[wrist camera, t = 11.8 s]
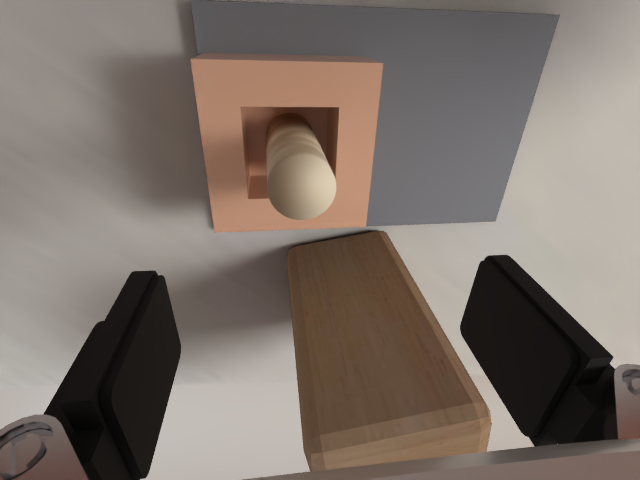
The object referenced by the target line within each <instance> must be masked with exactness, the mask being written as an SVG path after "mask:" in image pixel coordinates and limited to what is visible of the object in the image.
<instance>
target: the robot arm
mask: <svg viewBox="0 0 640 480" xmlns="http://www.w3.org/2000/svg"><path fill="white" fill-rule="evenodd" d="M460 330H461V334H462V336H463V338H464V340H465V341H466V343H467V345H468V346H469V348H470V350H471V351H472V353H473V354H474V356H475V358H476V359H477V361H478V363H479V364H480V366H481V367H482V369H483V371H484V372H485V374H486V376H487V377H488V379H489V380H490V382H491V384H492V385H493V387H494V388H495V390H496V392H497V393H498V395H499V397H500V398H501V400H502V402H503V403H504V405H505V406H506V408H507V410H508V411H509V413H510V414H511V416H512V418H513V419H514V421H515V422H516V424H517V426H518V427H519V429H520V431H521V432H522V433H523V434H524V435H525V436H527V437H529V438H530V440H531V441H532V443H533V444H534V446H535V447H528V448H518V449H508V450H499V451H490V452H480V453H471V454H462V455H452V456H444V457H435V458H426V459H417V460H408V461H399V462H390V463H381V464H372V465H363V466H354V467H346V468H337V469H328V470H320V471H311V472H303V473H294V474H286V475H277V476H269V477H260V478H253V479H244V480H640V365H634V364H624V365H620V366H618V367H617V368H616V369H614V368H613V367H612V366H611V365H610V364H609V363H610V362H611V360H612V359H613V356H612V355H611V354H610V353H609V352H608V351H607V350H606V349H605V348H604V347H603V346H602V345H601V344H600V343H599V342H598V341H597V340H596V339H595V338H593V337H592V336H591V335H590V334H589V333H588V332H587V331H586V330H585V329H584V328H583V327H582V326H581V325H580V324H579V323H578V322H577V321H576V320H575V319H574V318H573V317H572V316H571V315H570V314H569V313H568V312H567V311H566V310H565V309H564V308H563V307H562V306H561V305H559V304H558V303H557V302H556V301H555V300H554V299H553V298H552V297H551V296H550V295H549V294H548V293H547V292H546V291H545V290H544V289H543V288H542V287H541V286H540V285H539V284H538V283H537V282H536V281H535V280H534V279H533V278H532V277H531V276H530V275H529V274H528V273H526V272H525V271H524V270H523V269H522V268H521V267H520V266H519V265H518V264H517V263H516V262H515V261H514V260H513V259H512V258H511V257H510V256H508V255H493V256H487V257H486V258H485V260H484V261H481V262H480V264H479V267H478V270H477V273H476V277H475V280H474V283H473V286H472V289H471V293H470V296H469V299H468V302H467V305H466V309H465V312H464V315H463V318H462V321H461V325H460ZM180 354H181V344H180V340H179V335H178V331H177V327H176V323H175V319H174V315H173V310H172V306H171V302H170V298H169V294H168V290H167V285H166V281H165V278H164V276H162V275H160V276H158V274H157V272H156V271H134V272H132V273H131V274H130V276H129V278H128V279H127V281H126V283H125V285H124V287H123V288H122V290H121V292H120V294H119V296H118V297H117V299H116V301H115V303H114V305H113V306H112V308H111V310H110V312H109V314H108V315H107V317H106V319H105V321H100V322H99V323H97V324H96V325H95V327H94V328H93V330H92V331H91V333H90V335H89V337H88V338H87V340H86V342H85V343H84V345H83V347H82V349H81V350H80V352H79V354H78V356H77V357H76V359H75V361H74V362H73V364H72V366H71V368H70V369H69V371H68V373H67V375H66V376H65V378H64V380H63V381H62V383H61V385H60V387H59V388H58V390H57V392H56V394H55V395H54V397H53V399H52V400H51V402H50V404H49V406H48V407H47V409H46V411H45V413H44V414H43V415H33V416H29V417H25V418H21V419H19V420H17V421H15V422H13V423H10V424H8V425H7V426H5V427H4V428H2V429H1V430H0V480H140V479H142V478H146V477H147V475H148V473H149V470H150V466H151V463H152V459H153V455H154V451H155V447H156V444H157V440H158V437H159V433H160V429H161V426H162V422H163V418H164V414H165V411H166V407H167V403H168V400H169V396H170V392H171V388H172V385H173V381H174V377H175V374H176V370H177V366H178V362H179V359H180Z"/></svg>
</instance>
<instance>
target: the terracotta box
mask: <svg viewBox="0 0 640 480" xmlns="http://www.w3.org/2000/svg"><path fill="white" fill-rule="evenodd" d="M190 60H191V67H192V74H193V82H194V89H195V96H196V103H197V110H198V118H199V125H200V132H201V139H202V146H203V153H204V161H205V168H206V175H207V182H208V189H209V197H210V204H211V211H212V218H213V225H214V232H241V231H267V230H294V229H320V228H346V227H366V222H367V212H368V203H369V193H370V184H371V175H372V165H373V156H374V146H375V137H376V127H377V118H378V109H379V99H380V90H381V80H382V71H383V63H382V62H378V61H375V60H372V59H369V58H366V57H363V56H325V55H282V54H238V53H203V54H201V55H198V56H196V57H194V58H192V59H190ZM284 113H295V114H298V115H301V116H302V117H304V118H305V119H306V120H307V121H308V122H309V124H310V125H311V127H312V129H313V131H314V134H315V136H316V138H317V140H318V142H319V144H320V146H321V148H322V151H323V153H324V155H325V157H326V159H327V161H328V163H329V166H330V168H331V170H332V172H333V174H334V176H335V179H336V194H335V197H334V200H333V202H332V204H331V205H330V206H329V208H328V209H327V210H326V211H325V212H323V213H322V214H320V215H319V216H317V217H314V218H312V219H307V220H294V219H290V218H288V217H285V216H283V215H282V214H280V213H279V212H278V211H277V210H276V209H275V208H274V207H273V205H272V204H271V202H270V200H269V196H268V190H267V156H266V131H267V128H268V126H269V124H270V122H271V121H272V120H273V119H274V118H275V117H277V116H279V115H281V114H284Z"/></svg>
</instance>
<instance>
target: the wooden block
mask: <svg viewBox="0 0 640 480" xmlns="http://www.w3.org/2000/svg"><path fill="white" fill-rule="evenodd" d="M287 268H288V279H289V291H290V302H291V313H292V324H293V335H294V347H295V358H296V369H297V380H298V392H299V401H300V413H301V425H302V436H303V446H304V447H303V448H304V453H305V456H306V459H307V462H308V465H309V468H310V472H311V471H320V470H328V469H337V468H346V467H354V466H363V465H372V464H381V463H390V462H399V461H408V460H417V459H426V458H435V457H444V456H452V455H462V454H471V453H480V452H486V451H487V446H488V441H489V436H490V430H491V424H492V423H491V416H490V410H489V408H488V407H487V405H486V403H485V401H484V400H483V398H482V396H481V395H480V393H479V391H478V389H477V388H476V386H475V384H474V383H473V381H472V379H471V377H470V376H469V374H468V372H467V370H466V369H465V367H464V365H463V364H462V362H461V360H460V358H459V357H458V355H457V353H456V352H455V350H454V348H453V346H452V345H451V343H450V341H449V340H448V338H447V336H446V334H445V333H444V331H443V329H442V328H441V326H440V324H439V322H438V321H437V319H436V317H435V316H434V314H433V312H432V310H431V309H430V307H429V305H428V303H427V302H426V300H425V298H424V297H423V295H422V293H421V291H420V290H419V288H418V286H417V285H416V283H415V281H414V279H413V278H412V276H411V274H410V273H409V271H408V269H407V267H406V266H405V264H404V262H403V261H402V259H401V257H400V255H399V254H398V252H397V250H396V249H395V247H394V245H393V243H392V242H391V240H390V238H389V237H388V235H387V233H386V232H384V231H373V232H368V233H362V234H357V235H352V236H347V237H342V238H336V239H331V240H326V241H321V242H315V243H310V244H305V245H300V246H295V247H293V248H291V249H290V250H289V251H288V255H287Z"/></svg>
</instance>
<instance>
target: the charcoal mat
mask: <svg viewBox="0 0 640 480" xmlns="http://www.w3.org/2000/svg"><path fill="white" fill-rule="evenodd" d="M190 1H191V9H192V16H193V24H194V32H195V40H196V47H197V55H201V54H203V53H238V54H282V55H325V56H363V57H366V58H369V59H372V60H375V61H378V62H382V63H383V71H382V80H381V90H380V99H379V109H378V118H377V127H376V137H375V146H374V156H373V165H372V175H371V184H370V193H369V203H368V212H367V222H366V226H387V225H414V224H440V223H467V222H493V221H496V218H497V214H498V211H499V208H500V205H501V202H502V198H503V195H504V192H505V189H506V186H507V182H508V179H509V176H510V173H511V170H512V166H513V163H514V160H515V157H516V154H517V150H518V147H519V144H520V141H521V137H522V134H523V131H524V128H525V125H526V121H527V118H528V115H529V112H530V109H531V105H532V102H533V99H534V96H535V93H536V89H537V86H538V83H539V80H540V77H541V73H542V70H543V67H544V64H545V61H546V57H547V54H548V51H549V48H550V45H551V41H552V38H553V35H554V32H555V29H556V25H557V22H558V19H559V16H560V15H554V14H529V13H505V12H481V11H456V10H432V9H407V8H383V7H358V6H334V5H309V4H285V3H260V2H236V1H211V0H190Z"/></svg>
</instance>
